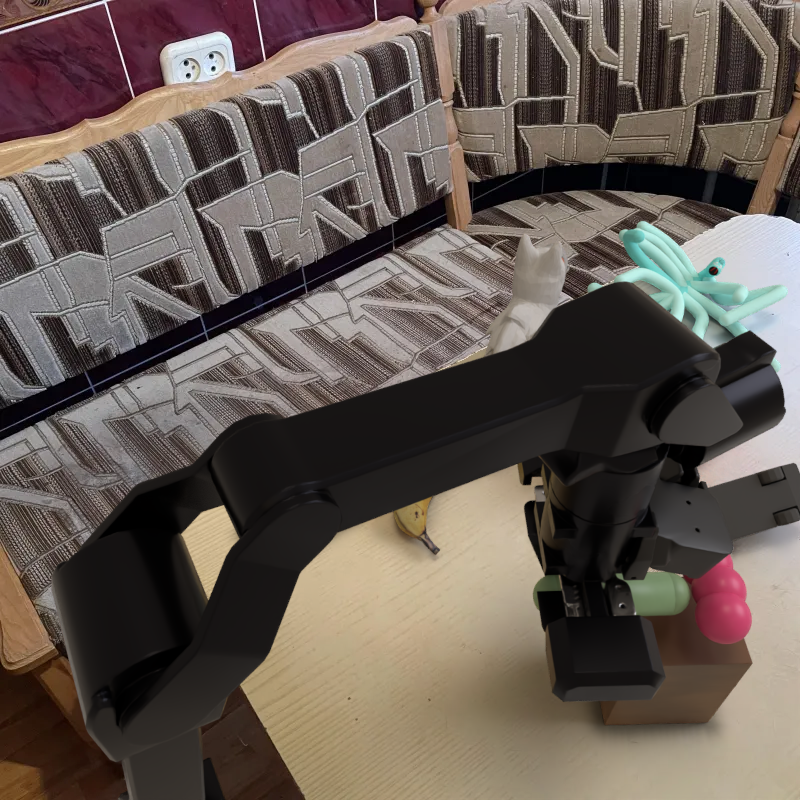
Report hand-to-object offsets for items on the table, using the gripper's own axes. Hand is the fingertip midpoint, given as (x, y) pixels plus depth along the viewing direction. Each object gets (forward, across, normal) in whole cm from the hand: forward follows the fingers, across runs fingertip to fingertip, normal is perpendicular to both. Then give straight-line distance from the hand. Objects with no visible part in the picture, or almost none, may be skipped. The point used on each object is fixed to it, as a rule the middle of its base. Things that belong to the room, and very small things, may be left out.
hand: (563, 611), depth 55 cm
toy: (+13, +39, -3) cm, 41 cm away
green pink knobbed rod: (-1, 0, -5) cm, 5 cm away
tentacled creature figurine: (+7, +39, -18) cm, 44 cm away
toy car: (+8, +14, -20) cm, 26 cm away
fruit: (+13, +20, +6) cm, 25 cm away
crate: (+13, 0, -9) cm, 16 cm away
